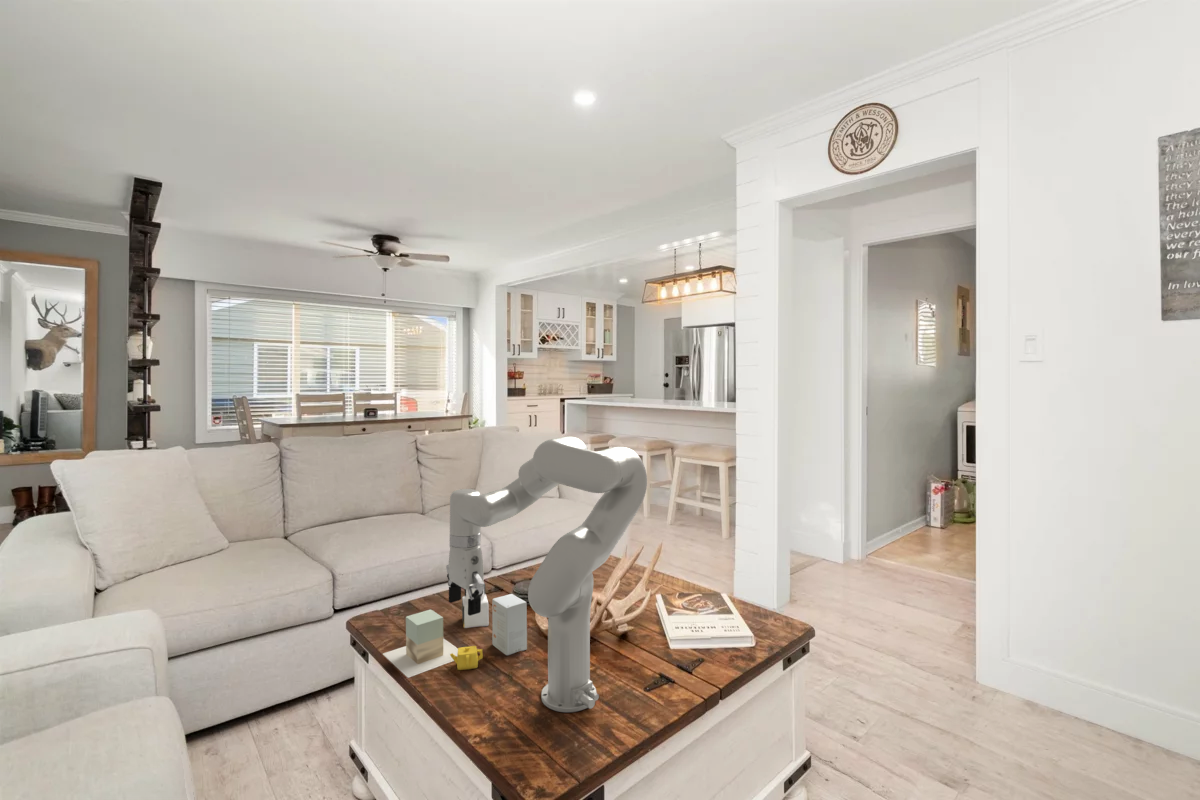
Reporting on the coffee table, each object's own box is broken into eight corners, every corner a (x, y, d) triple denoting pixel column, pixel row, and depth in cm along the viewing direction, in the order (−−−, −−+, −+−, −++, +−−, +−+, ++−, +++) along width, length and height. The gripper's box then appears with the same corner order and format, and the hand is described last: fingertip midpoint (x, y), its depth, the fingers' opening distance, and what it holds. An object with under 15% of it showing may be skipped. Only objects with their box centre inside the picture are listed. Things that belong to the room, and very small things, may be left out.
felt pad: (467, 657, 145) (467, 655, 145) (408, 679, 135) (408, 677, 134) (439, 636, 157) (439, 634, 157) (382, 655, 146) (382, 653, 146)
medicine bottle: (462, 619, 168) (461, 580, 168) (486, 616, 170) (485, 577, 170) (463, 629, 161) (463, 588, 161) (488, 626, 164) (488, 585, 163)
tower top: (443, 636, 145) (443, 617, 145) (417, 644, 141) (417, 625, 140) (431, 627, 151) (431, 609, 150) (406, 635, 146) (405, 616, 146)
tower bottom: (443, 655, 146) (443, 636, 145) (417, 664, 141) (417, 644, 141) (431, 645, 151) (431, 627, 151) (406, 654, 146) (406, 635, 146)
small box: (527, 649, 149) (527, 601, 149) (506, 657, 145) (506, 608, 145) (512, 638, 156) (511, 592, 155) (491, 645, 152) (491, 598, 151)
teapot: (450, 676, 136) (449, 656, 136) (450, 665, 141) (450, 645, 141) (483, 672, 138) (483, 652, 138) (482, 661, 143) (482, 641, 143)
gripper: (496, 545, 135) (495, 614, 135) (461, 529, 147) (460, 593, 148) (469, 551, 130) (468, 623, 130) (435, 534, 142) (434, 600, 143)
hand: (464, 607), depth 139 cm, fingers open, 9 cm apart
